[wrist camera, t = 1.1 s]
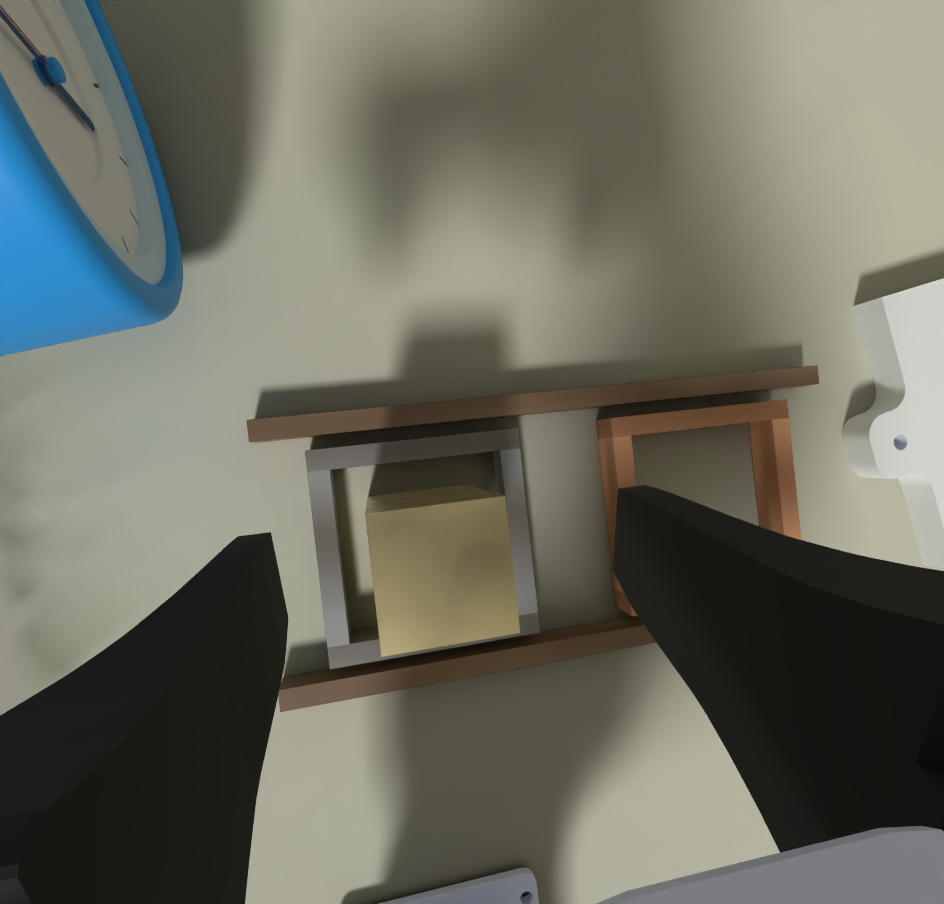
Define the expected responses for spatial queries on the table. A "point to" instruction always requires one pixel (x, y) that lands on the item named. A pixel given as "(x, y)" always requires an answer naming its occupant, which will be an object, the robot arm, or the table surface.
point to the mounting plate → (905, 407)
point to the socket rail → (515, 515)
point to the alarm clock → (77, 184)
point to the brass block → (441, 567)
